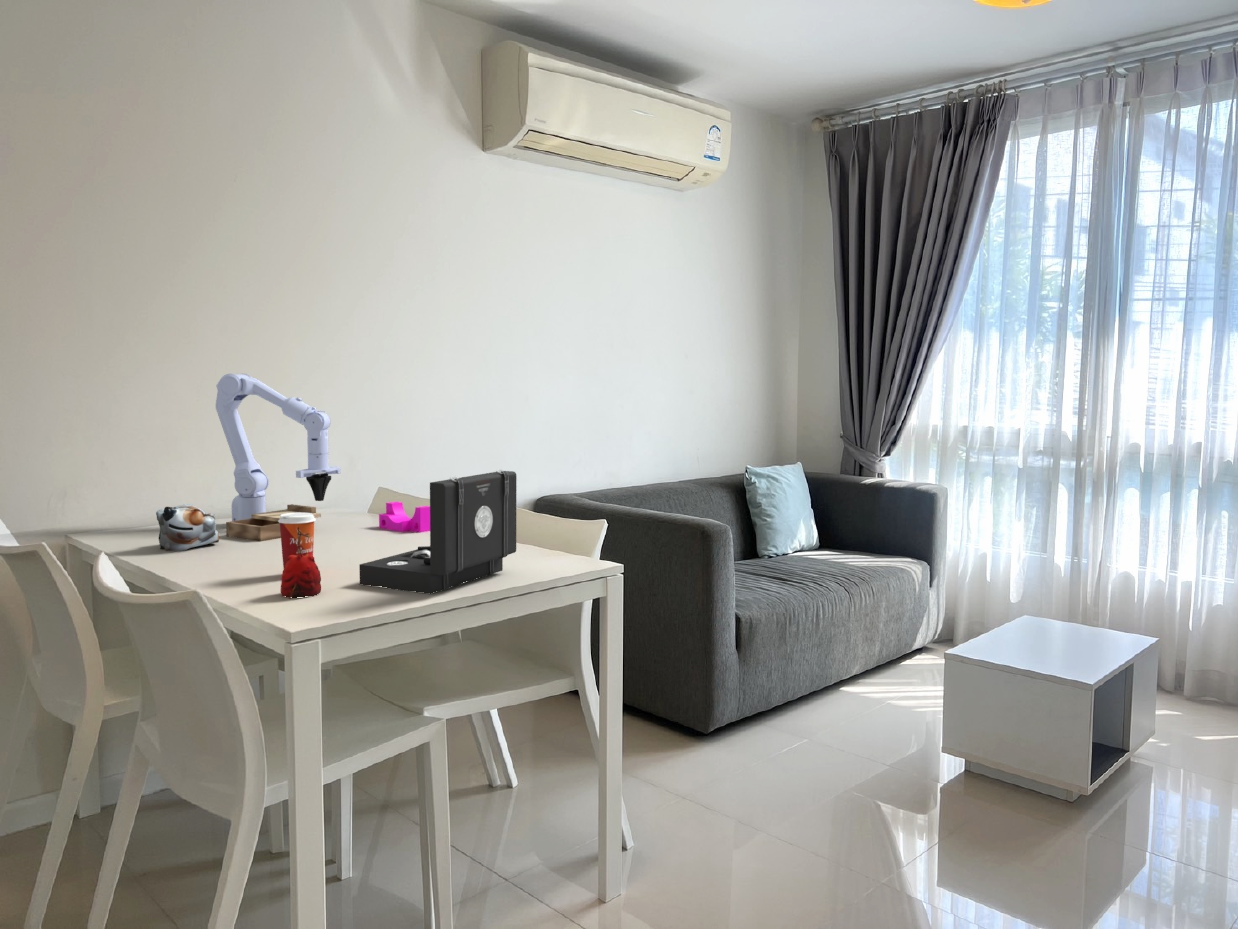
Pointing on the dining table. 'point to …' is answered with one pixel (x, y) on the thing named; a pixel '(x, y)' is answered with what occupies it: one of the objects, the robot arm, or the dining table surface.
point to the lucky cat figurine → (185, 528)
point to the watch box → (456, 536)
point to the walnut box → (253, 529)
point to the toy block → (405, 518)
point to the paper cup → (290, 537)
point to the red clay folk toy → (300, 574)
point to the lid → (290, 509)
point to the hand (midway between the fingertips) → (319, 500)
